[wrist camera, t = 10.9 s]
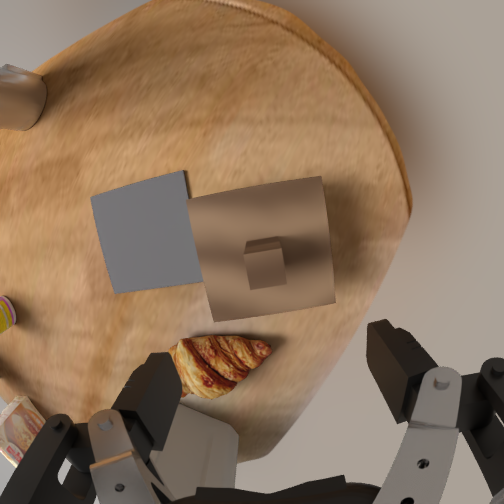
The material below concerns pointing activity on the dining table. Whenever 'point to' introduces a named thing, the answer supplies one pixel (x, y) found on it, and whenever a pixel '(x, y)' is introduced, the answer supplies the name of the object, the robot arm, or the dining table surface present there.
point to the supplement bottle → (6, 314)
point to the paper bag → (197, 453)
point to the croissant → (216, 363)
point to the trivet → (147, 234)
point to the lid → (264, 248)
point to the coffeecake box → (19, 428)
